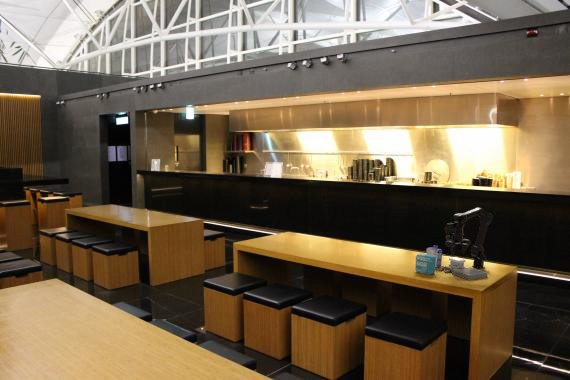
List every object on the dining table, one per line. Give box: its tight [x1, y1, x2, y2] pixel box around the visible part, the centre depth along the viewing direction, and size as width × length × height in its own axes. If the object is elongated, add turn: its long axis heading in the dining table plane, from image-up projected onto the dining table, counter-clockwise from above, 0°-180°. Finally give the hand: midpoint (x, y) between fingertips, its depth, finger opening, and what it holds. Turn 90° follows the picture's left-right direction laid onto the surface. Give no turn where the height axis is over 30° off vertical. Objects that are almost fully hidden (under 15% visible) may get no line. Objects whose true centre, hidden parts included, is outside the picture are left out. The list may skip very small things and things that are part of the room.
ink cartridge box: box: [426, 244, 443, 268], centre depth 341 cm, size 10×6×14 cm, turn 33°
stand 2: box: [451, 266, 489, 281], centre depth 316 cm, size 16×15×3 cm
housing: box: [448, 256, 466, 269], centre depth 329 cm, size 6×9×6 cm, turn 24°
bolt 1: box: [438, 265, 446, 272], centre depth 329 cm, size 6×2×2 cm, turn 139°
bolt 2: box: [443, 269, 453, 274], centre depth 324 cm, size 6×2×2 cm, turn 114°
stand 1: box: [444, 265, 455, 271], centre depth 329 cm, size 11×11×2 cm
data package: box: [414, 253, 436, 275], centre depth 323 cm, size 12×4×12 cm, turn 53°
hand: (457, 255), depth 328 cm, fingers open, 9 cm apart
